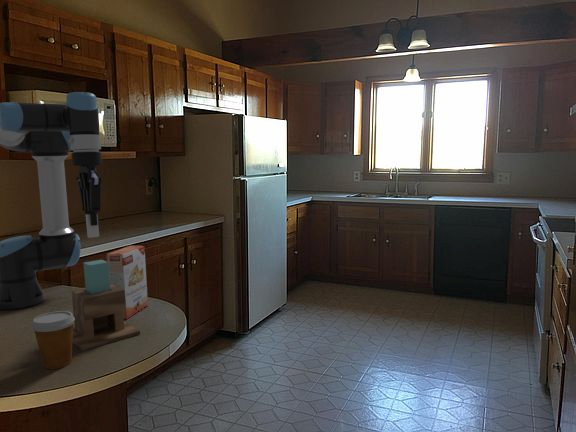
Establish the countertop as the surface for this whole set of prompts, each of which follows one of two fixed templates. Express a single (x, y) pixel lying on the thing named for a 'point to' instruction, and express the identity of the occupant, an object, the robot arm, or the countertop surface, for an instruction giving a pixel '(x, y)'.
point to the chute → (100, 318)
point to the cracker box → (129, 276)
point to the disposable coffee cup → (54, 338)
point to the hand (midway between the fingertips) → (93, 236)
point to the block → (96, 276)
